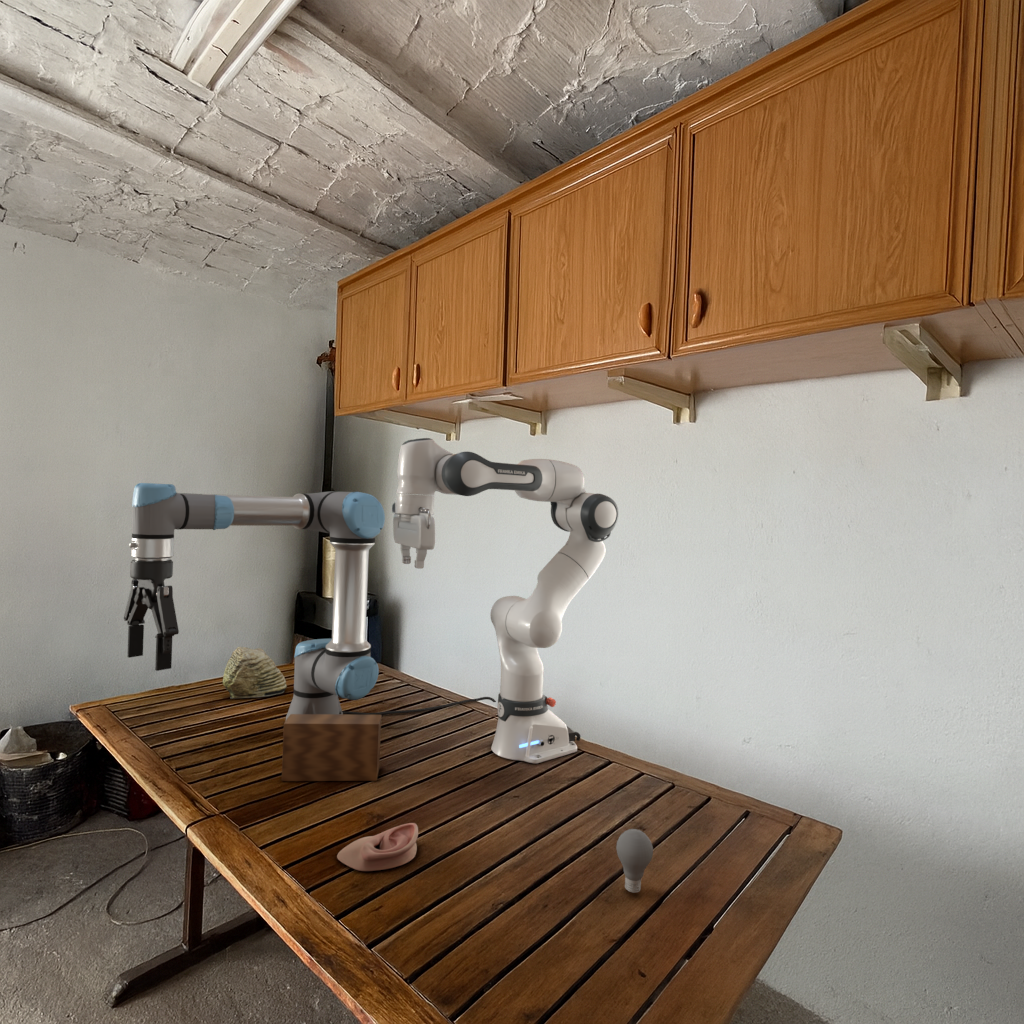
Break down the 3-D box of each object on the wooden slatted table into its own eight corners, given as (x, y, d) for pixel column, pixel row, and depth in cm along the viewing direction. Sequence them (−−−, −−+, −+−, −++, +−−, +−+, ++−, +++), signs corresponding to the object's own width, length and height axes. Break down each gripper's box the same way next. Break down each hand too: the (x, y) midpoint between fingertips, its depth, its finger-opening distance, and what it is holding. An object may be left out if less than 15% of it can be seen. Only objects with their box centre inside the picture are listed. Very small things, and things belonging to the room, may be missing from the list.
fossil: (218, 695, 195) (220, 647, 195) (278, 685, 208) (279, 640, 207) (228, 703, 189) (230, 653, 188) (289, 692, 201) (290, 645, 201)
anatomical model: (329, 843, 109) (358, 811, 120) (328, 865, 109) (357, 832, 120) (402, 855, 106) (425, 821, 117) (401, 878, 106) (424, 842, 117)
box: (281, 781, 140) (283, 723, 140) (288, 769, 146) (290, 714, 146) (376, 780, 142) (378, 723, 142) (379, 769, 148) (381, 714, 148)
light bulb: (610, 879, 108) (613, 822, 108) (644, 879, 109) (647, 822, 109) (619, 902, 102) (622, 840, 102) (655, 901, 103) (658, 840, 103)
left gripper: (108, 554, 134) (105, 654, 134) (159, 565, 118) (155, 678, 119) (146, 552, 140) (143, 648, 140) (199, 563, 124) (196, 671, 124)
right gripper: (443, 508, 141) (440, 571, 141) (414, 506, 159) (411, 561, 159) (416, 508, 138) (413, 571, 138) (389, 505, 156) (387, 561, 156)
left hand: (148, 662), depth 129 cm, fingers open, 13 cm apart
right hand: (412, 565), depth 149 cm, fingers open, 8 cm apart
